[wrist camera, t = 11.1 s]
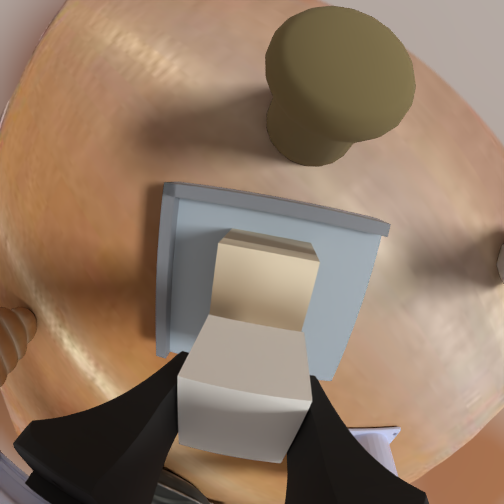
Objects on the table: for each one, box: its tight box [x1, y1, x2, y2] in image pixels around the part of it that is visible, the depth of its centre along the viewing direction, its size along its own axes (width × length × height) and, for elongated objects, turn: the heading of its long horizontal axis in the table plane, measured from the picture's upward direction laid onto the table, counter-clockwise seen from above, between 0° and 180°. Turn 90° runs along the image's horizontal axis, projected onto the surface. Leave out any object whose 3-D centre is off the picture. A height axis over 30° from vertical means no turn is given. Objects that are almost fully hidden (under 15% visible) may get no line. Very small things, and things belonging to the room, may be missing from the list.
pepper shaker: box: [265, 6, 416, 166], centre depth 11 cm, size 6×6×11 cm
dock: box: [156, 182, 391, 381], centre depth 18 cm, size 13×14×2 cm
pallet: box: [209, 228, 320, 332], centre depth 16 cm, size 8×5×4 cm, turn 171°
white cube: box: [177, 315, 312, 463], centre depth 9 cm, size 4×4×4 cm
